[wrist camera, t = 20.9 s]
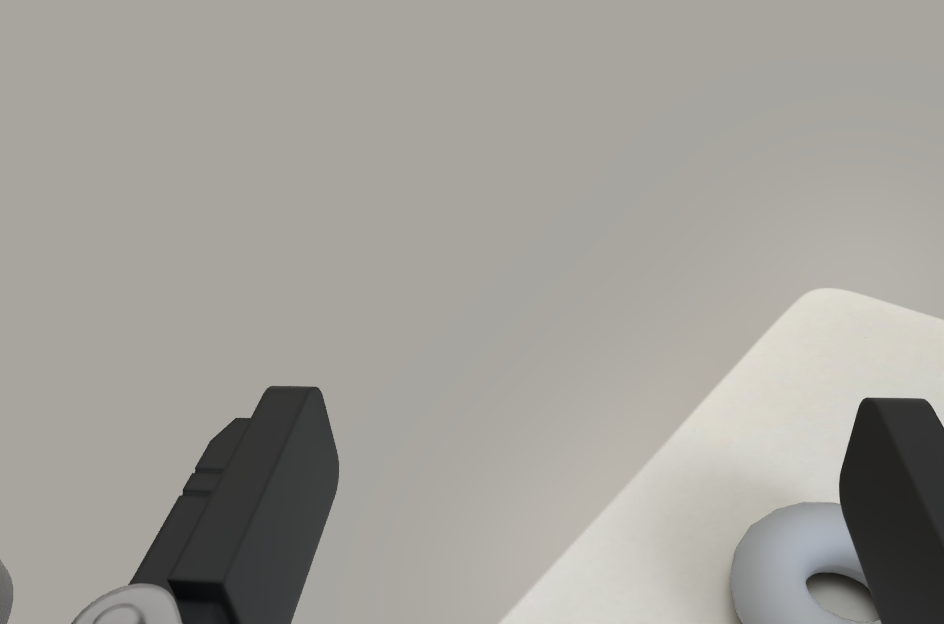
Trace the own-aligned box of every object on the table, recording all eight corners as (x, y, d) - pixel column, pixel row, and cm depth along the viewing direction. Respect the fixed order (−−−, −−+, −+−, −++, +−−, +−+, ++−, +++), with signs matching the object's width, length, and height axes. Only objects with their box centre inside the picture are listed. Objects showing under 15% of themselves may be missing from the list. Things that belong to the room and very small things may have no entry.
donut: (839, 508, 41) (683, 574, 38) (853, 462, 39) (690, 528, 36) (1013, 669, 33) (832, 767, 30) (1041, 621, 31) (851, 722, 28)
